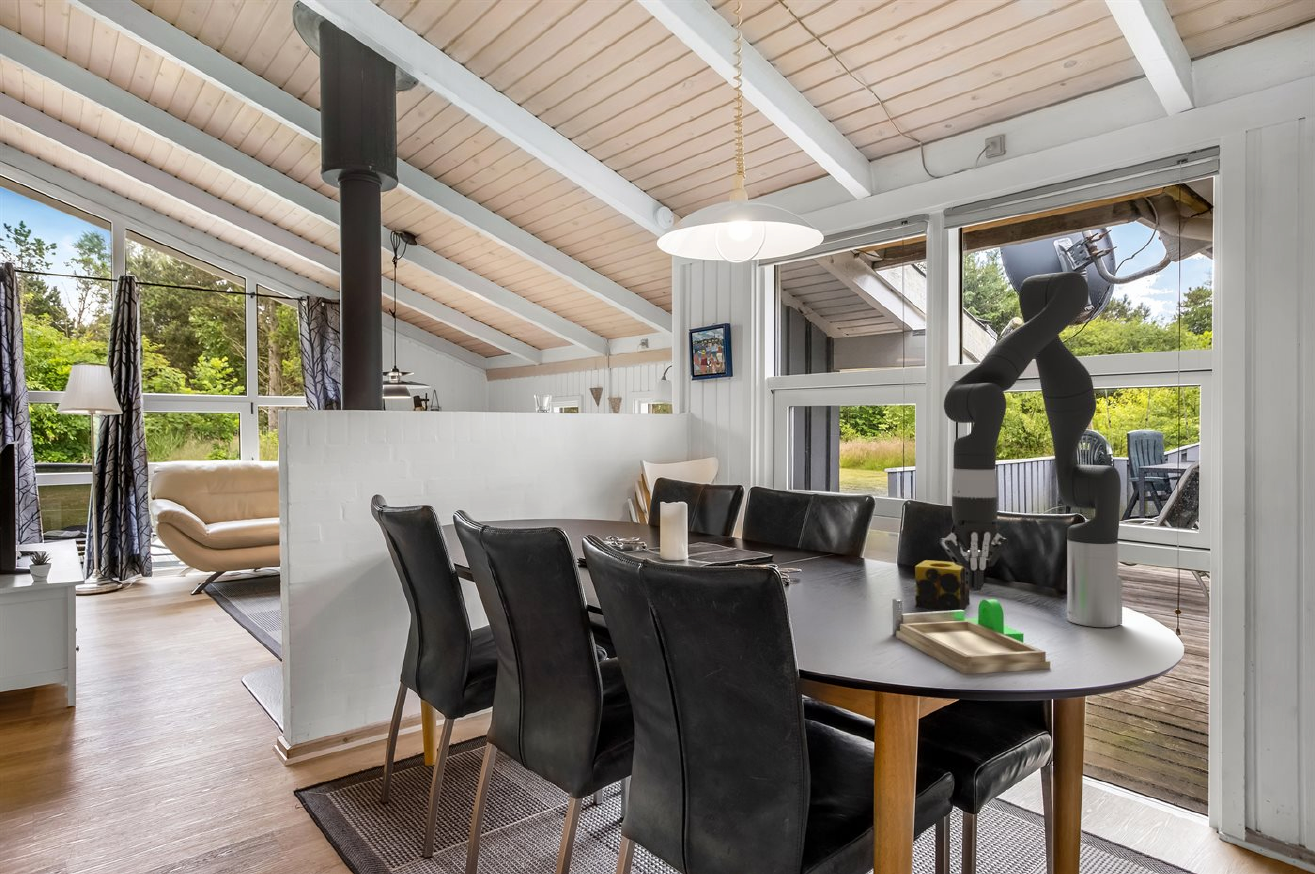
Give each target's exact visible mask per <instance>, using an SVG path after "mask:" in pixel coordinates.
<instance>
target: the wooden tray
mask: <svg viewBox="0 0 1315 874" xmlns="http://www.w3.org/2000/svg"><path fill="white" fill-rule="evenodd" d="M895 637H896V638H898V639H899V640H901V641H903V642H904V643H907V644H908V645H910V646H912V647H914V648H915V649H918V650H919V651H921V652H923V653H925V654H927V655H929V656H930V657H931V658H934V659H936V660H937V661H940V662H942V663H944V664H945V665H946V666H949V667H950V668H953V670H954V669H955V670H956V671H958V672H960V673H962V674H964V675H971V674H972V675H974V674H975V675H976V674H988V673H989V674H990V673H1002V672H1019V671H1034V670H1036V671H1037V670H1049V669H1051V661H1050V660H1049V659H1046V658H1047V657H1046V653H1047V652H1046V651H1044V650H1042V649H1039V648H1037V647H1034V646H1033V645H1030V644H1027V643H1025V642H1024V641H1023V642H1020V641H1018V640H1016V639H1013V638H1011V637H1008V636H1006V635H1004V634H1001V633H999V632H996V631H994V630H991V629H989V628H987V627H984V626H982V625H979V624H977V623H975V622H972V621H970V620H967V621H948V622H929V623H910V624H900V631H896V636H895Z"/></svg>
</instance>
